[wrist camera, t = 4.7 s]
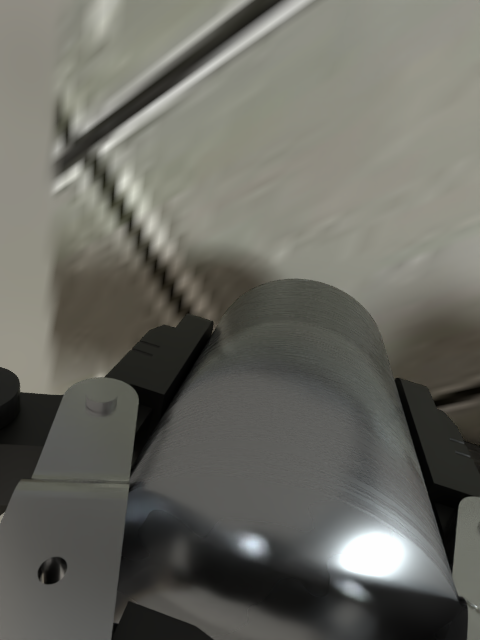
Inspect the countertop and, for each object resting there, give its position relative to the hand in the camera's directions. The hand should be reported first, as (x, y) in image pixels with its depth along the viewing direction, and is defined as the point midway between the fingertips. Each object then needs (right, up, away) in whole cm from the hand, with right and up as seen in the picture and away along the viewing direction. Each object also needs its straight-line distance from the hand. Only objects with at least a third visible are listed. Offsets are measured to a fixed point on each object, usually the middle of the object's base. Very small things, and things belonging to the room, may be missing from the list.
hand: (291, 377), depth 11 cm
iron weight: (0, 0, +1) cm, 1 cm away
